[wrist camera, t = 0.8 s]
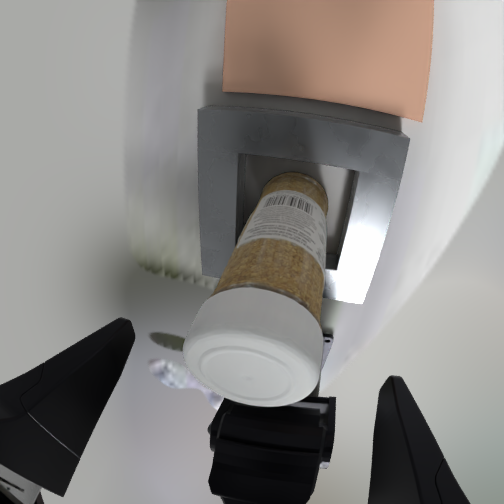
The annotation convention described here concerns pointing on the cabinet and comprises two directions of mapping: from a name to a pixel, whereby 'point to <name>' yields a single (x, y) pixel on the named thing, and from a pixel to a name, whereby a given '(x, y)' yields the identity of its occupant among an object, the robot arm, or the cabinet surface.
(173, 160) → the cabinet surface
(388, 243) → the cabinet surface
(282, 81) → the terracotta tile
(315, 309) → the sprinkles bottle
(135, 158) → the cabinet surface
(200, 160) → the collar stand
